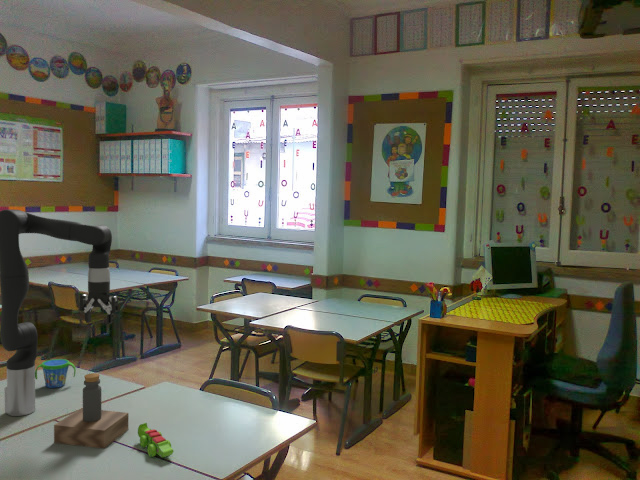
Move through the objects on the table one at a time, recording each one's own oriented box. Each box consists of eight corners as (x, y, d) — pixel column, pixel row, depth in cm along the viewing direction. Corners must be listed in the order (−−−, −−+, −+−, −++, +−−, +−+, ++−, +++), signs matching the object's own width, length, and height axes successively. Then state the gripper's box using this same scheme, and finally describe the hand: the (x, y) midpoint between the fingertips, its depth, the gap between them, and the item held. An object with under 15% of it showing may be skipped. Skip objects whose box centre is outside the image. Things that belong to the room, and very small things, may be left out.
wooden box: (54, 442, 180) (53, 424, 180) (81, 424, 195) (81, 408, 195) (104, 448, 177) (104, 430, 177) (128, 429, 192) (128, 412, 192)
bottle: (94, 423, 182) (94, 378, 181) (78, 421, 183) (78, 377, 182) (104, 416, 188) (104, 373, 187) (89, 414, 189) (89, 371, 188)
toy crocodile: (177, 459, 172) (177, 440, 172) (156, 464, 168) (156, 445, 168) (154, 436, 188) (154, 419, 187) (134, 441, 184) (134, 423, 183)
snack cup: (78, 380, 240) (78, 358, 239) (72, 389, 230) (72, 365, 229) (39, 382, 237) (39, 359, 236) (31, 390, 227) (31, 366, 226)
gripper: (75, 280, 200) (75, 324, 201) (111, 282, 197) (111, 326, 198) (87, 277, 207) (87, 319, 208) (122, 279, 205) (122, 322, 206)
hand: (99, 323), depth 203 cm, fingers open, 8 cm apart
